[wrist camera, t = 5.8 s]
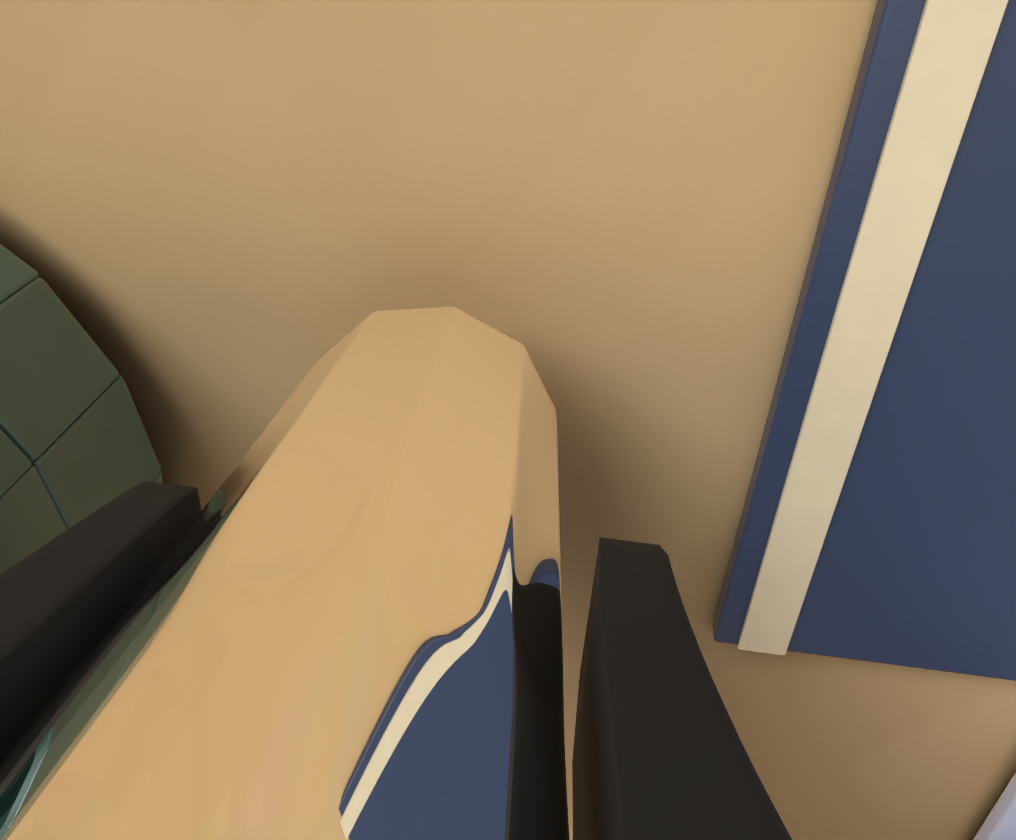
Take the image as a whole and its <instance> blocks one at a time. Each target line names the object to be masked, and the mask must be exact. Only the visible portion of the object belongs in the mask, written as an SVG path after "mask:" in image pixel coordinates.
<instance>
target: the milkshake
mask: <svg viewBox="0 0 1016 840" xmlns="http://www.w3.org/2000/svg"><path fill="white" fill-rule="evenodd" d="M0 840H569V825H568V807H567V787H566V766H565V741H564V698H563V647H562V604H561V562H560V522H559V483H558V443H557V415H556V409H555V407H554V405H553V403H552V401H551V399H550V397H549V395H548V393H547V391H546V389H545V387H544V385H543V383H542V381H541V379H540V377H539V375H538V372H537V370H536V368H535V366H534V364H533V362H532V360H531V358H530V356H529V354H528V352H527V350H526V348H525V346H524V345H523V344H521V343H520V342H518V341H516V340H514V339H512V338H510V337H509V336H507V335H505V334H503V333H501V332H499V331H498V330H496V329H494V328H492V327H490V326H488V325H487V324H485V323H483V322H481V321H479V320H478V319H476V318H474V317H472V316H470V315H469V314H467V313H465V312H463V311H462V310H460V309H458V308H456V307H454V306H447V307H432V308H416V309H399V310H380V311H374V312H372V313H371V314H370V315H369V316H368V317H367V318H365V319H364V320H363V321H362V322H361V323H360V324H359V325H358V326H356V327H355V328H354V329H353V330H352V331H351V332H350V333H348V334H347V335H346V336H345V337H344V338H343V339H342V340H340V341H339V342H338V343H337V344H336V345H335V346H333V347H332V348H331V349H330V350H329V351H328V352H326V353H325V354H324V355H323V356H322V357H321V358H320V359H319V360H318V361H317V362H316V364H315V365H314V366H313V367H312V369H311V370H310V371H309V372H308V374H307V375H306V376H305V378H304V379H303V380H302V382H301V383H300V384H299V385H298V387H297V388H296V389H295V391H294V392H293V393H292V395H291V396H290V397H289V398H288V400H287V401H286V402H285V404H284V405H283V406H282V407H281V409H280V410H279V411H278V413H277V414H276V415H275V417H274V418H273V419H272V420H271V422H270V423H269V424H268V426H267V427H266V428H265V430H264V431H263V432H262V433H261V435H260V436H259V437H258V439H257V440H256V441H255V443H254V444H253V445H252V446H251V448H250V449H249V450H248V452H247V453H246V454H245V456H244V457H243V458H242V459H241V461H240V462H239V463H238V465H237V466H236V467H235V469H234V470H233V471H232V472H231V474H230V475H229V476H228V478H227V479H226V480H225V482H224V483H223V484H222V485H221V487H220V488H219V489H218V491H217V492H216V493H215V495H214V496H213V497H212V498H211V500H210V501H209V502H208V504H207V505H206V506H205V508H204V509H203V510H202V511H201V513H200V514H199V515H198V517H197V518H196V519H195V521H194V522H193V523H192V525H191V526H190V527H189V528H188V530H187V531H186V532H185V534H184V535H183V536H182V538H181V539H180V540H179V541H178V543H177V544H176V545H175V547H174V548H173V549H172V551H171V552H170V553H169V554H168V556H167V557H166V558H165V560H164V561H163V562H162V564H161V565H160V566H159V567H158V569H157V570H156V571H155V573H154V574H153V575H152V577H151V578H150V579H149V580H148V582H147V583H146V584H145V586H144V587H143V588H142V590H141V591H140V592H139V593H138V595H137V596H136V597H135V599H134V600H133V601H132V602H131V604H130V605H129V606H128V608H127V609H126V610H125V611H124V613H123V614H122V615H121V616H120V617H119V619H118V620H117V621H116V622H115V624H114V625H113V626H112V627H111V628H110V630H109V631H108V632H107V633H106V635H105V636H104V637H103V638H102V639H101V640H100V642H99V643H98V644H97V645H96V646H95V648H94V649H93V650H92V651H91V652H90V654H89V655H88V656H87V657H86V658H85V659H84V661H83V662H82V663H81V664H80V665H79V667H78V668H77V669H76V670H75V671H74V673H73V674H72V675H71V676H70V677H69V679H68V680H67V681H66V682H65V684H64V685H63V686H62V687H61V688H60V690H59V691H58V692H57V693H56V694H55V696H54V697H53V698H52V699H51V700H50V702H49V703H48V704H47V705H46V706H45V708H44V709H43V710H42V711H41V712H40V714H39V715H38V716H37V717H36V719H35V720H34V721H33V722H32V723H31V725H30V726H29V727H28V728H27V729H26V731H25V732H24V733H23V734H22V735H21V737H20V738H19V739H18V740H17V741H16V743H15V744H14V745H13V746H12V748H11V749H10V750H9V751H8V752H7V754H6V755H5V756H4V757H3V758H2V760H1V761H0Z"/></svg>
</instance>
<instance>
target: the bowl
mask: <svg viewBox="0 0 1016 840" xmlns="http://www.w3.org/2000/svg"><path fill="white" fill-rule="evenodd" d="M38 275H39V273H38V272H37V271H36V270H35V269H33V268H32V267H31V266H29V265H28V264H27V263H25V262H24V261H23V260H21V259H20V258H19V257H17V256H16V255H15V254H13V253H12V252H11V251H9V250H8V249H7V248H6V247H4V246H3V245H2V244H0V574H1V573H3V572H4V571H6V570H7V569H9V568H10V567H12V566H13V565H15V564H17V563H18V562H20V561H21V560H23V559H24V558H26V557H27V556H29V555H30V554H32V553H33V552H35V551H36V550H38V549H39V548H41V547H42V546H44V545H45V544H47V543H48V542H50V541H51V540H53V539H54V538H56V537H57V536H59V535H60V534H62V533H63V532H65V531H66V530H68V529H69V528H71V527H72V526H74V525H75V524H77V523H78V522H80V521H81V520H83V519H84V518H86V517H87V516H89V515H90V514H92V513H93V512H95V511H96V510H98V509H99V508H101V507H102V506H104V505H106V504H107V503H109V502H110V501H112V500H113V499H115V498H116V497H118V496H119V495H121V494H123V493H124V492H126V491H127V490H129V489H131V488H132V487H134V486H136V485H137V484H139V483H141V482H142V481H146V482H154V483H162V472H161V466H160V464H159V461H158V459H157V457H156V454H155V452H154V449H153V447H152V445H151V442H150V440H149V437H148V435H147V432H146V430H145V428H144V425H143V423H142V420H141V418H140V416H139V413H138V411H137V408H136V406H135V404H134V401H133V399H132V396H131V394H130V392H129V389H128V387H127V384H126V382H125V380H124V378H123V377H122V376H119V372H118V370H117V369H116V367H115V366H114V365H113V364H112V363H111V361H110V360H109V359H108V358H107V356H106V355H105V354H104V353H103V351H102V350H101V349H100V348H99V347H98V345H97V344H96V343H95V342H94V340H93V339H92V338H91V337H90V335H89V334H88V333H87V332H86V331H85V329H84V328H83V327H82V326H81V324H80V323H79V322H78V321H77V319H76V318H75V317H74V316H73V315H72V313H71V312H70V311H69V310H68V308H67V307H66V306H65V305H64V303H63V302H62V301H61V300H60V299H59V297H58V296H57V295H56V294H55V292H54V291H53V290H52V289H51V288H50V286H49V285H48V284H47V283H46V281H45V280H44V279H42V278H41V277H39V278H38Z"/></svg>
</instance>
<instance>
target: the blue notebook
mask: <svg viewBox="0 0 1016 840" xmlns="http://www.w3.org/2000/svg"><path fill="white" fill-rule="evenodd" d="M713 634H714V640H715V641H718V642H726V643H733V644H737V647H738V650H746V651H753V652H761V653H769V654H776V655H784V656H785V654H786V651H794V652H802V653H809V654H817V655H825V656H832V657H840V658H847V659H855V660H863V661H870V662H878V663H885V664H893V665H901V666H908V667H916V668H924V669H931V670H939V671H946V672H954V673H962V674H969V675H977V676H984V677H992V678H1000V679H1007V680H1015V681H1016V0H878V2H877V6H876V9H875V13H874V17H873V21H872V25H871V28H870V32H869V36H868V40H867V43H866V47H865V51H864V55H863V59H862V62H861V66H860V70H859V74H858V78H857V81H856V85H855V89H854V93H853V96H852V100H851V104H850V108H849V112H848V115H847V119H846V123H845V127H844V130H843V134H842V138H841V142H840V146H839V149H838V153H837V157H836V161H835V164H834V168H833V172H832V176H831V180H830V183H829V187H828V191H827V195H826V198H825V202H824V206H823V210H822V214H821V217H820V221H819V225H818V229H817V232H816V236H815V240H814V244H813V248H812V251H811V255H810V259H809V263H808V266H807V270H806V274H805V278H804V282H803V285H802V289H801V293H800V297H799V301H798V304H797V308H796V312H795V316H794V319H793V323H792V327H791V331H790V335H789V338H788V342H787V346H786V350H785V353H784V357H783V361H782V365H781V369H780V372H779V376H778V380H777V384H776V387H775V391H774V395H773V399H772V403H771V406H770V410H769V414H768V418H767V421H766V425H765V429H764V433H763V437H762V440H761V444H760V448H759V452H758V455H757V459H756V463H755V467H754V471H753V474H752V478H751V482H750V486H749V489H748V493H747V497H746V501H745V505H744V508H743V512H742V516H741V520H740V524H739V527H738V531H737V535H736V539H735V542H734V546H733V550H732V554H731V558H730V561H729V565H728V569H727V573H726V576H725V580H724V584H723V588H722V592H721V595H720V599H719V603H718V607H717V610H716V614H715V618H714V622H713Z"/></svg>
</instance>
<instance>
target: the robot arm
mask: <svg viewBox="0 0 1016 840" xmlns="http://www.w3.org/2000/svg"><path fill="white" fill-rule="evenodd" d="M200 513H201V506H200V501H199V496H198V490H197V488H194V487H186V486H178V485H170V484H162V483H154V482H146V481H142V482H141V483H139V484H137V485H136V486H134V487H132V488H131V489H129V490H127V491H126V492H124V493H123V494H121V495H119V496H118V497H116V498H115V499H113V500H112V501H110V502H109V503H107V504H106V505H104V506H102V507H101V508H99V509H98V510H96V511H95V512H93V513H92V514H90V515H89V516H87V517H86V518H84V519H83V520H81V521H80V522H78V523H77V524H75V525H74V526H72V527H71V528H69V529H68V530H66V531H65V532H63V533H62V534H60V535H59V536H57V537H56V538H54V539H53V540H51V541H50V542H48V543H47V544H45V545H44V546H42V547H41V548H39V549H38V550H36V551H35V552H33V553H32V554H30V555H29V556H27V557H26V558H24V559H23V560H21V561H20V562H18V563H17V564H15V565H13V566H12V567H10V568H9V569H7V570H6V571H4V572H3V573H1V574H0V761H1V760H2V758H3V757H4V756H5V755H6V754H7V752H8V751H9V750H10V749H11V748H12V746H13V745H14V744H15V743H16V741H17V740H18V739H19V738H20V737H21V735H22V734H23V733H24V732H25V731H26V729H27V728H28V727H29V726H30V725H31V723H32V722H33V721H34V720H35V719H36V717H37V716H38V715H39V714H40V712H41V711H42V710H43V709H44V708H45V706H46V705H47V704H48V703H49V702H50V700H51V699H52V698H53V697H54V696H55V694H56V693H57V692H58V691H59V690H60V688H61V687H62V686H63V685H64V684H65V682H66V681H67V680H68V679H69V677H70V676H71V675H72V674H73V673H74V671H75V670H76V669H77V668H78V667H79V665H80V664H81V663H82V662H83V661H84V659H85V658H86V657H87V656H88V655H89V654H90V652H91V651H92V650H93V649H94V648H95V646H96V645H97V644H98V643H99V642H100V640H101V639H102V638H103V637H104V636H105V635H106V633H107V632H108V631H109V630H110V628H111V627H112V626H113V625H114V624H115V622H116V621H117V620H118V619H119V617H120V616H121V615H122V614H123V613H124V611H125V610H126V609H127V608H128V606H129V605H130V604H131V602H132V601H133V600H134V599H135V597H136V596H137V595H138V593H139V592H140V591H141V590H142V588H143V587H144V586H145V584H146V583H147V582H148V580H149V579H150V578H151V577H152V575H153V574H154V573H155V571H156V570H157V569H158V567H159V566H160V565H161V564H162V562H163V561H164V560H165V558H166V557H167V556H168V554H169V553H170V552H171V551H172V549H173V548H174V547H175V545H176V544H177V543H178V541H179V540H180V539H181V538H182V536H183V535H184V534H185V532H186V531H187V530H188V528H189V527H190V526H191V525H192V523H193V522H194V521H195V519H196V518H197V517H198V515H199V514H200ZM572 768H573V840H792V839H791V837H790V835H789V833H788V831H787V830H786V828H785V826H784V824H783V822H782V820H781V818H780V817H779V815H778V813H777V811H776V809H775V807H774V805H773V803H772V801H771V799H770V798H769V796H768V794H767V792H766V790H765V788H764V786H763V784H762V782H761V781H760V779H759V777H758V775H757V773H756V771H755V769H754V767H753V765H752V763H751V761H750V759H749V757H748V755H747V753H746V751H745V749H744V747H743V745H742V743H741V741H740V738H739V736H738V734H737V732H736V730H735V728H734V725H733V723H732V721H731V719H730V717H729V714H728V712H727V710H726V708H725V706H724V704H723V701H722V699H721V697H720V695H719V693H718V690H717V688H716V686H715V684H714V682H713V679H712V677H711V675H710V672H709V670H708V668H707V665H706V663H705V661H704V658H703V656H702V653H701V651H700V648H699V646H698V643H697V641H696V638H695V635H694V633H693V630H692V628H691V625H690V623H689V620H688V617H687V614H686V612H685V609H684V606H683V603H682V600H681V597H680V594H679V591H678V589H677V585H676V582H675V579H674V575H673V572H672V569H671V565H670V561H669V557H668V554H667V553H666V552H665V551H664V550H663V549H662V548H661V546H660V545H655V544H647V543H639V542H631V541H622V540H614V539H606V538H600V541H599V548H598V555H597V562H596V568H595V575H594V582H593V589H592V595H591V602H590V609H589V616H588V622H587V629H586V636H585V643H584V649H583V656H582V663H581V670H580V680H579V692H578V703H577V715H576V726H575V738H574V750H573V762H572ZM973 840H1016V772H1015V774H1014V776H1013V777H1012V779H1011V780H1010V782H1009V783H1008V785H1007V787H1006V788H1005V790H1004V791H1003V793H1002V795H1001V796H1000V798H999V799H998V801H997V802H996V804H995V806H994V807H993V809H992V810H991V812H990V814H989V815H988V817H987V818H986V820H985V821H984V823H983V825H982V826H981V828H980V829H979V831H978V833H977V834H976V836H975V837H974V839H973Z"/></svg>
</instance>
